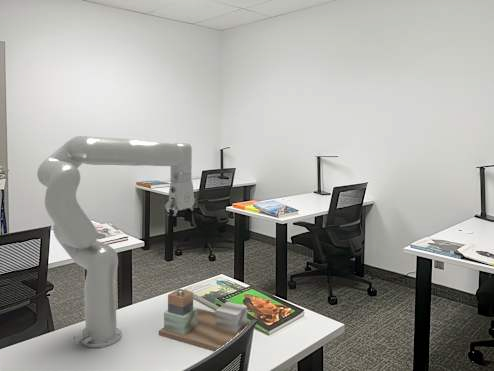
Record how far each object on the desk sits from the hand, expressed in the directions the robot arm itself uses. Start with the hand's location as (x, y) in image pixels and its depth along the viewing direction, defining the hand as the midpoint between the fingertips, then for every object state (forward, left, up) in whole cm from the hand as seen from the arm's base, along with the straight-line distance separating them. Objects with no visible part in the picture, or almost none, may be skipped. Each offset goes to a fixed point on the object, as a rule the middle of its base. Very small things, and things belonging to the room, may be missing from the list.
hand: (180, 223), depth 156 cm
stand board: (-9, -17, -33) cm, 38 cm away
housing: (-14, -10, -26) cm, 31 cm away
